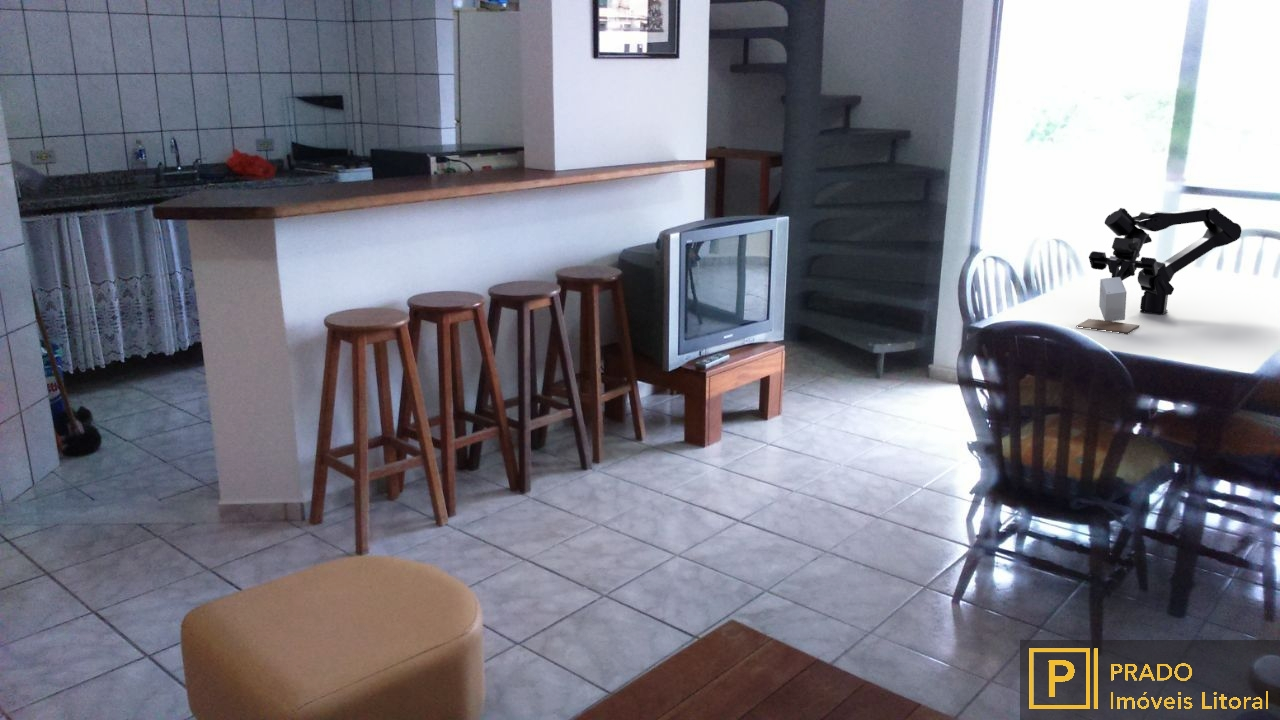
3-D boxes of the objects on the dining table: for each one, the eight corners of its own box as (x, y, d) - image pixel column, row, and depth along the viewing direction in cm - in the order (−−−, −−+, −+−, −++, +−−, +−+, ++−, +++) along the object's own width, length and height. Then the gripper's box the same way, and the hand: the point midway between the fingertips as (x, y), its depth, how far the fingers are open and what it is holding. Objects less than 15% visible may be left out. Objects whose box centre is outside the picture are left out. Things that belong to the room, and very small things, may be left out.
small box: (1125, 320, 293) (1127, 292, 287) (1104, 322, 295) (1106, 294, 288) (1118, 304, 299) (1120, 276, 293) (1098, 306, 301) (1100, 278, 294)
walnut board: (1139, 327, 289) (1139, 325, 289) (1127, 334, 280) (1127, 332, 280) (1088, 320, 297) (1089, 318, 297) (1076, 327, 289) (1076, 325, 288)
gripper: (1095, 224, 301) (1076, 263, 296) (1161, 231, 289) (1142, 272, 284) (1101, 248, 309) (1082, 286, 304) (1165, 255, 296) (1147, 296, 291)
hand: (1112, 284), depth 296 cm, fingers closed
